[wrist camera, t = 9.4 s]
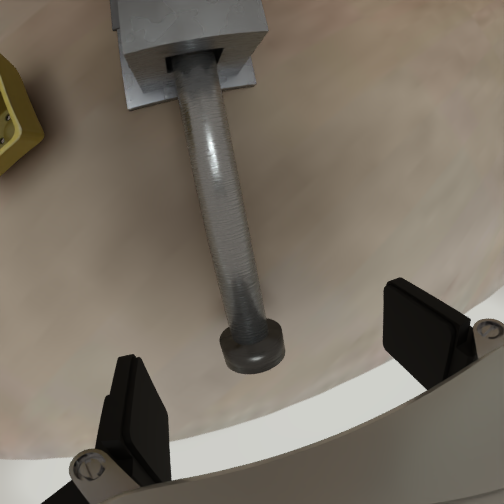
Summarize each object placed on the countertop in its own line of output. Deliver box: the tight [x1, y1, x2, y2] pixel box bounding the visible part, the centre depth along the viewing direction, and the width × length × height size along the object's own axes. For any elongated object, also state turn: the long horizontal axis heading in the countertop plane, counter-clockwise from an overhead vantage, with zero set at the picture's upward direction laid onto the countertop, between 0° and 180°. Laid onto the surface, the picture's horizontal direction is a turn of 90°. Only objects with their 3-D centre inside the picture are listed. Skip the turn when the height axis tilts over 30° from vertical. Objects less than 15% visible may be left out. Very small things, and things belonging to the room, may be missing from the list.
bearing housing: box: [117, 0, 269, 111], centre depth 18 cm, size 8×11×11 cm
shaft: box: [171, 49, 285, 374], centre depth 20 cm, size 28×5×5 cm, turn 11°
